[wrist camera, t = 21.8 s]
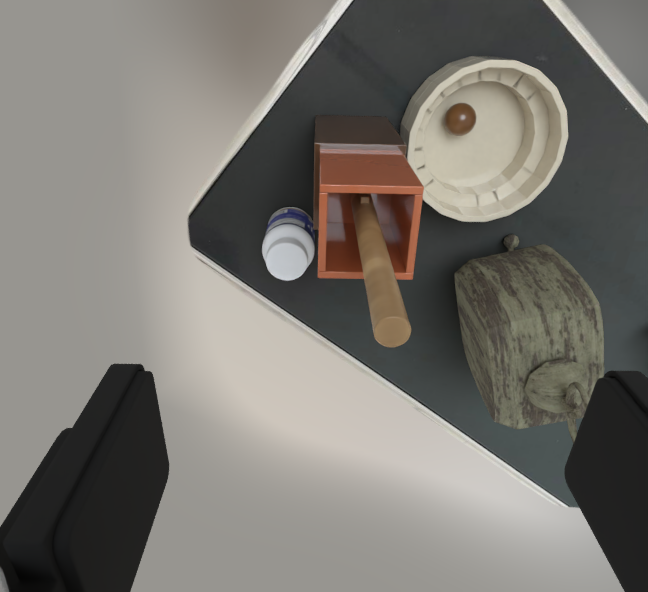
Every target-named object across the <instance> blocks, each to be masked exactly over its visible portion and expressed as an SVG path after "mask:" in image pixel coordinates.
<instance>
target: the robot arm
mask: <svg viewBox="0 0 648 592" xmlns="http://www.w3.org/2000/svg"><path fill="white" fill-rule="evenodd" d="M168 474H169V461H168V455H167V449H166V444H165V439H164V433H163V427H162V422H161V417H160V411H159V405H158V400H157V394H156V389H155V383H154V377H153V374H152V372H150V371H145V370H144V368H143V366H142V365H141V364H113V365H111V366H110V367H109V369H108V370H107V372H106V374H105V375H104V377H103V379H102V380H101V382H100V383H99V386H98V387H97V388H96V390H95V392H94V393H93V395H92V397H91V398H90V400H89V402H88V403H87V405H86V406H85V408H84V410H83V411H82V413H81V415H80V416H79V418H78V419H77V421H76V423H75V424H74V426H73V428H67V429H65V430H63V431H62V432H61V433H60V435H59V436H58V437H57V438H56V440H55V442H54V443H53V445H52V446H51V448H50V449H49V451H48V453H47V454H46V456H45V457H44V459H43V461H42V462H41V464H40V465H39V467H38V468H37V470H36V472H35V473H34V475H33V476H32V478H31V480H30V481H29V483H28V484H27V486H26V487H25V489H24V491H23V492H22V494H21V495H20V497H19V498H18V500H17V502H16V503H15V505H14V507H13V508H12V509H11V511H10V513H9V514H8V516H7V517H6V519H5V521H4V522H3V524H2V525H1V527H0V592H130V591H131V588H132V585H133V582H134V578H135V576H136V573H137V570H138V567H139V564H140V561H141V558H142V555H143V552H144V549H145V546H146V542H147V540H148V536H149V534H150V531H151V528H152V525H153V521H154V519H155V515H156V513H157V509H158V507H159V504H160V501H161V498H162V494H163V492H164V489H165V486H166V483H167V479H168ZM565 479H566V483H567V485H568V487H569V489H570V491H571V492H572V494H573V496H574V498H575V500H576V502H577V504H578V506H579V507H580V509H581V511H582V513H583V515H584V517H585V519H586V520H587V522H588V524H589V526H590V528H591V530H592V531H593V533H594V535H595V537H596V539H597V541H598V543H599V545H600V546H601V548H602V550H603V552H604V554H605V556H606V558H607V560H608V561H609V563H610V565H611V567H612V569H613V571H614V573H615V574H616V576H617V578H618V580H619V582H620V584H621V586H622V587H623V589H624V591H625V592H648V378H647V377H646V376H645V375H644V374H642V373H641V372H638V371H609V372H607V373H606V374H605V375H604V377H603V378H599V379H598V380H597V382H596V384H595V386H594V389H593V392H592V395H591V397H590V400H589V403H588V406H587V408H586V411H585V414H584V417H583V419H582V422H581V425H580V427H579V430H578V433H577V436H576V438H575V441H574V444H573V447H572V449H571V452H570V455H569V457H568V460H567V463H566V466H565Z"/></svg>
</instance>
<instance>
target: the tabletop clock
mask: <svg viewBox="0 0 648 592" xmlns="http://www.w3.org/2000/svg"><path fill="white" fill-rule="evenodd" d="M518 244H519V239H518V237H517V236H516V235H514V234H511V235H508V236H506V237H505V239H504V245H505V247H507V248H508V251H507V252H504V253H499V254H495V255H490V256H485V257H481V258H476V259H472V260H469V261H468V262H467V263H466V264H464V265H463V266H462V267H461V268H460V269H459V270H458V271H457V272H455V288H456V296H457V305H458V313H459V320H460V327H461V334H462V340H463V346H464V351H465V355H466V358H467V361H468V364H469V367H470V370H471V372H472V375H473V377H474V379H475V382H476V384H477V387H478V389H479V391H480V394H481V396H482V398H483V400H484V402H485V405H486V407H487V409H488V411H489V413H490V415H491V417H492V418H493V420H494V421H495V422H497V423H500V424H503V425H506V426H509V427H512V428H514V429H522V428H527V427H533V426H539V425H544V424H550V423H555V422H561V421H566V420H567V423H568V428H569V432H570V435H571V438H572V441H573V443H574V441H575V438H576V436H577V428H576V419H578V418H583V417H584V414H585V411H586V408H587V406H588V403H589V400H590V397H591V395H592V392H593V389H594V386H595V384H596V382H597V380H598V379H599V378H603V377H604V331H603V321H602V315H601V309H600V304H599V302H598V300H597V299H596V297H595V295H594V293H593V292H592V290H591V289H590V287H589V286H588V284H587V283H586V282H585V280H584V279H583V278H582V277H581V276H580V274H579V273H578V272H577V271H576V270H575V269H574V268H573V267H572V266H571V264H570V263H569V262H568V261H567V260H566V259H565V258H564V257H562V256H561V255H560V254H559V253H557V252H556V251H555V250H554V249H552V248H551V247H549V246H547V245H536V246H531V247H527V248H522V249H517V250H514V248H515V247H517V246H518Z"/></svg>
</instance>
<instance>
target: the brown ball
mask: <svg viewBox="0 0 648 592" xmlns="http://www.w3.org/2000/svg"><path fill="white" fill-rule="evenodd" d="M475 124H476V112H475V110H474V109H473V107H472V106H470V105H469V104H467V103H457V104H454V105H452V106H451V107H450V108H449V109H448V110H447V112H446V113H445V116H444V125H445V128H446V130H447V131H448V132H449V133H450V134H452V135H455V136H463V135H466V134H468V133H469V132H470V131H471V130H472V129H473V128H474V126H475Z"/></svg>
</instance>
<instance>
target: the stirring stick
mask: <svg viewBox="0 0 648 592" xmlns="http://www.w3.org/2000/svg"><path fill="white" fill-rule="evenodd" d="M349 195H350V200H351V206H352V212H353V218H354V223H355V229H356V235H357V241H358V246H359V252H360V258H361V263H362V269H363V275H364V281H365V286H366V292H367V298H368V303H369V309H370V315H371V321H372V326H373V332H374V337H375V339H376V340H377V342H378V343H380V344H381V345H383V346H386V347H397V346H400V345H402V344H404V343H405V342H406V341H407V340H408V338H409V337H410V334H411V326H410V323H409V320H408V316H407V313H406V310H405V306H404V303H403V300H402V296H401V293H400V290H399V286H398V283H397V280H396V276H395V273H394V270H393V266H392V263H391V260H390V256H389V253H388V250H387V246H386V243H385V240H384V236H383V233H382V230H381V226H380V223H379V220H378V216H377V213H376V210H375V206H374V203H373V200H372V196H371V193H349Z"/></svg>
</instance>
